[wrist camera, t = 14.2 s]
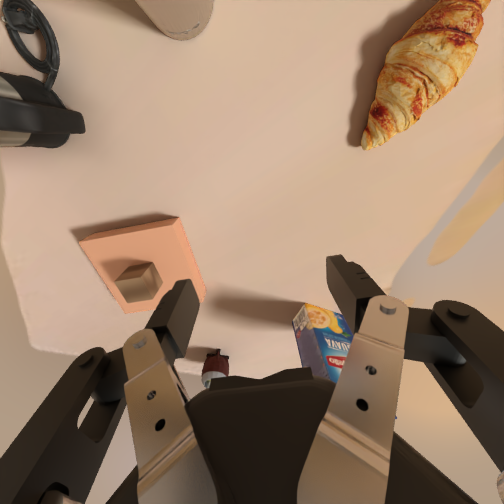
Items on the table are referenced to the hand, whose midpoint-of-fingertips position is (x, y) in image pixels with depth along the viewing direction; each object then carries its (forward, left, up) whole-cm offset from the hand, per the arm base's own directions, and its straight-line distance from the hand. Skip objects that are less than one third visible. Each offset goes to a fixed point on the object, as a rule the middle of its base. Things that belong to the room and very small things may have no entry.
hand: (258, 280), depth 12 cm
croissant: (-11, +25, -29) cm, 39 cm away
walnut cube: (+12, -24, -24) cm, 36 cm away
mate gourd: (+45, -19, -28) cm, 56 cm away
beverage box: (+35, +10, -28) cm, 46 cm away
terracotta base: (+12, -24, -28) cm, 39 cm away
